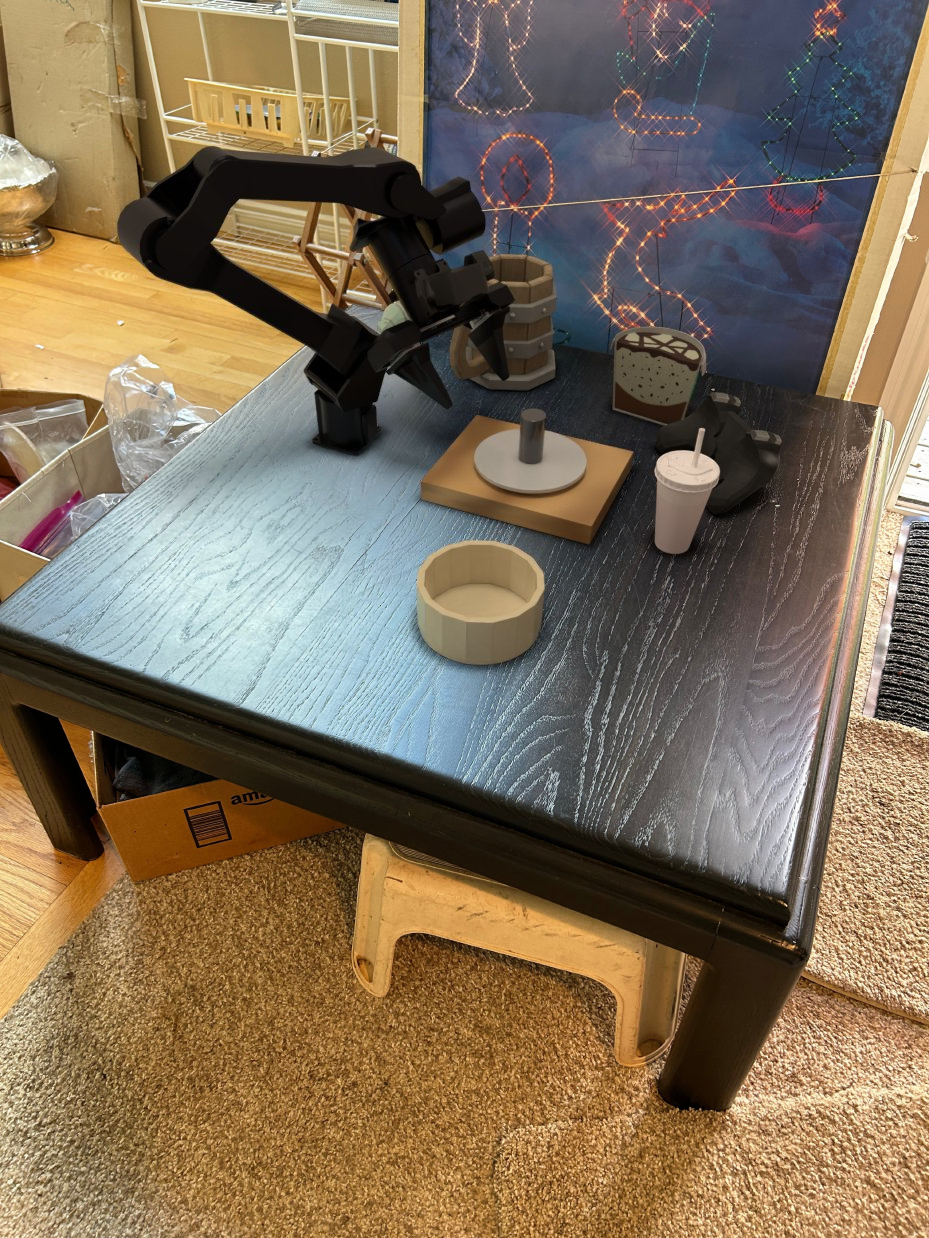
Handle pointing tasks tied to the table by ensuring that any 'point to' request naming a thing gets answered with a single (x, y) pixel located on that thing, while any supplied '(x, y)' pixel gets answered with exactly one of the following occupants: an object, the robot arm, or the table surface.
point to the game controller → (726, 449)
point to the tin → (480, 601)
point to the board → (550, 513)
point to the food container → (655, 373)
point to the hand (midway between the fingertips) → (478, 393)
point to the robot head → (392, 317)
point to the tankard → (515, 328)
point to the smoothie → (682, 495)
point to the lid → (530, 457)
